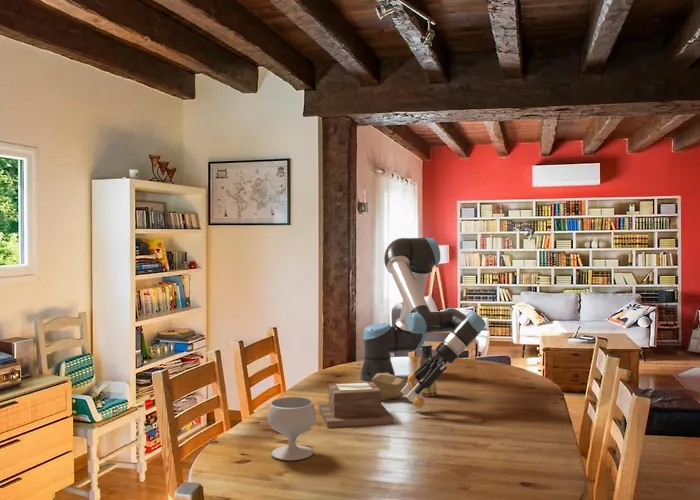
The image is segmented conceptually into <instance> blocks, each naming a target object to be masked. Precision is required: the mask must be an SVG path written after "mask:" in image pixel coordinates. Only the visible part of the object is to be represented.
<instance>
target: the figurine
mask: <svg viewBox="0 0 700 500" xmlns="http://www.w3.org/2000/svg"><path fill="white" fill-rule="evenodd" d="M415 379H416V377H415V374H414V372H413V373H411V374H410V373H409V374H408V375H407V381H406V384H408V386H409V389H410V390H411V389H412V388H414V387H415V386H416V383H415ZM416 380H417V379H416ZM417 381H418V380H417ZM409 382H410V383H411V387H412V388H410V384H409ZM418 382H419V381H418ZM419 384H420V383H419ZM412 403H413V406H414V407H415V408H418V409H420V408H423V407H424V405H425V400H424V397H422V395H421V394H419V395H418V396H417V397H416V398H415V399H414V400H413V402H412Z"/></svg>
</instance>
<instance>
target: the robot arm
mask: <svg viewBox="0 0 700 500" xmlns="http://www.w3.org/2000/svg"><path fill="white" fill-rule="evenodd" d="M383 260H384V265H385V268H386V270H387V272H388V273H390V274H391V275H392V278H393V280H394V282H395V285H396V287H397V289H398V291H399V293H400V296H401V298H402V303H401V310H400V315H399V318H397V319H396V320H395V323H394V324H395V325H393V326H391V324H390V323H387V322H382V323H374V324H373V323H372V324H370V325H367V326H366V327H365V328H364V329H363V337H362V338H363V363H362V366H361V369H360V373H359V375H360V376H359V378H360V379H361V380H363V381H365V382H372V378H373V377H374V376H375V375H376V374H377V373H389V374H392V375H394V376H395V375H396V374H395V369H394V366H393V364H392V359H391V355H392V354H396V353H412V352H417V351H419V350H422V348H421V345H423V344H425V339H426V336H425V335H426V334H430V333H443V332H444V333H445V332H449V333H448V334H447V336H446V337H445V338H443V342H440V343H439V344H438V345H437V347H436V348H435V351H436V352H437V353H436V354H435V355H434V356H433V354H432V355H430V356H429V358H428V359H427V360H426V361H425V362H424V363H423V364H422V365H421V366H420V365H419V366H418V368H417V369H416V370H415V371H414V372H413V373H414V374H415V377H416V379H417V380H418V381H419V382H418V381H417V380H416V379H415V383H416V386H415V387H414V388H412V387H411V383H410V381H409V384H410V388H412V389H411V390H410V389H409V386H408V383H406V386H405V387H404V388H403V389H402V390H401V392H402V393H403V394H404V396H405V398H407V399H408V401H409V402H411V403H413V400H414V399H415V398H416V397H417V396H418V395H421V392H422V391H423V390H424V388H429V387H430V386H431V385H432V384H433V383H434V382H435V380H436V381H437V380H438V378H439V377H440V376H441V375H442V374H443V372H445V371H446V370H447V369H448V367H447V365H446V364H447V363H449V364H452V363H454V361H455V360H456V359H457V358H458V355H459V356H460V355H461V354H462V353H463V352H465V349H466V348H467V347H468V346H469V345H470V344H471V343H472V342H473V341H475V339H476V338H477V336H479V335H480V334H481V333H482V331H483V330H484V328H485V327H486V324H487V323H486V322H485V320H484V319H483V318H482V317H481V316H480V314H478V313H477V312H475V311H474V310H471V311H469V312H468V313H467V314H466V313H463V312H461V311H460V310H459V309H455V308H453V307H448V308H446V309H444V310H443V311H431V309H430V307H429V306H428V304H427V301H426V299H425V298H424V297H425V292H426V287H427V281H428V276H429V275H430V274H432V272H433V268H434V267H436V266H438V265H439V264H440V262H441V250H440V246H439V243H438V242H437V241H436V240H435V239H434V238H433V237H410V238H409V237H408V238H407V237H399V238H397V239H395V240H393V241H392V242H391V243H389V245H388V246H387V247H386V249H385V252H384V259H383ZM422 378H423V380H422V381H420V380H421V379H422ZM419 383H420V384H421V385H420V384H419Z"/></svg>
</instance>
